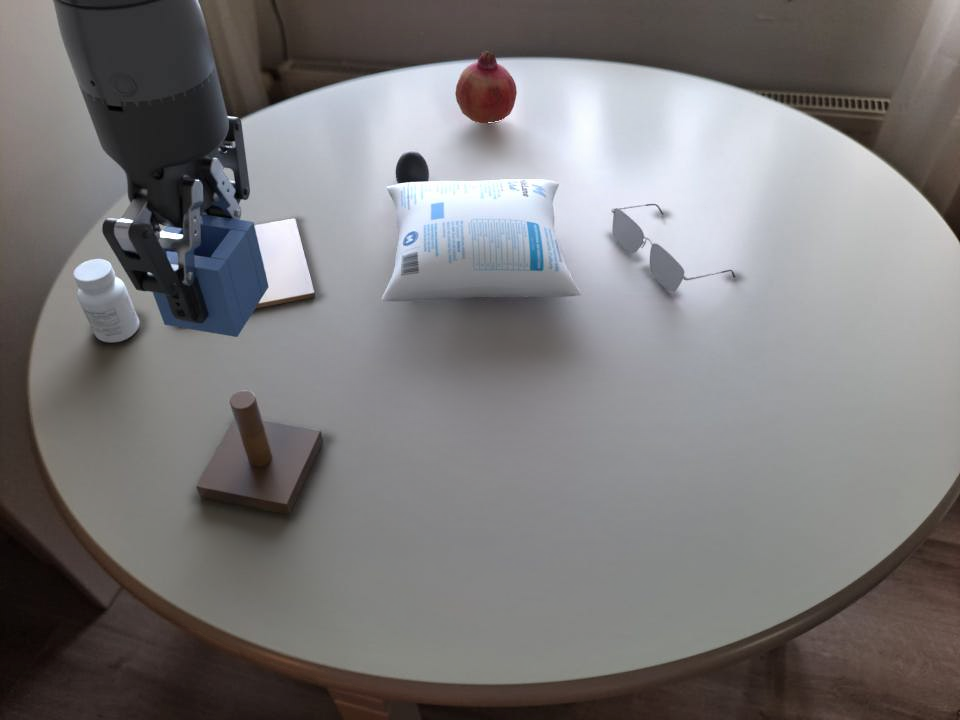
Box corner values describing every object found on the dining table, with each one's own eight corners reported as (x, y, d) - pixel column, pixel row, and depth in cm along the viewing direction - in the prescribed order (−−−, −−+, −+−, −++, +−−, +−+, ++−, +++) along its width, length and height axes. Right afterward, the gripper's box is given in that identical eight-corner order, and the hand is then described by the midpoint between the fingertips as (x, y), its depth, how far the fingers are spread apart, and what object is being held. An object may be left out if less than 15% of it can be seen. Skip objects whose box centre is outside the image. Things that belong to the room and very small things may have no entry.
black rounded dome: (391, 182, 101) (388, 147, 97) (421, 174, 102) (419, 139, 98) (404, 199, 98) (401, 164, 95) (434, 191, 99) (433, 155, 96)
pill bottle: (116, 309, 84) (91, 250, 78) (149, 322, 83) (126, 263, 77) (85, 335, 81) (57, 276, 76) (118, 349, 80) (92, 290, 74)
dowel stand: (200, 497, 68) (171, 429, 61) (239, 425, 73) (217, 356, 67) (289, 514, 67) (270, 447, 60) (323, 440, 72) (308, 371, 66)
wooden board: (179, 323, 83) (177, 319, 82) (172, 243, 92) (171, 239, 91) (315, 297, 86) (314, 292, 85) (295, 221, 95) (295, 217, 94)
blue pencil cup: (164, 325, 57) (139, 258, 53) (200, 275, 61) (179, 210, 57) (237, 337, 57) (218, 271, 52) (269, 286, 60) (253, 221, 56)
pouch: (376, 267, 77) (584, 255, 77) (382, 163, 91) (559, 153, 91) (385, 329, 82) (580, 317, 83) (390, 222, 96) (557, 213, 96)
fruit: (499, 102, 115) (500, 33, 108) (525, 129, 110) (528, 58, 103) (447, 114, 113) (445, 44, 105) (471, 142, 108) (471, 71, 100)
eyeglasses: (605, 230, 94) (612, 201, 91) (660, 217, 97) (668, 188, 94) (678, 301, 85) (688, 271, 83) (736, 284, 88) (747, 254, 86)
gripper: (148, 7, 51) (210, 225, 63) (8, 119, 41) (112, 350, 53) (259, 19, 50) (300, 238, 62) (141, 137, 40) (217, 369, 52)
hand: (213, 289), depth 58 cm, fingers closed on blue pencil cup, 5 cm apart
